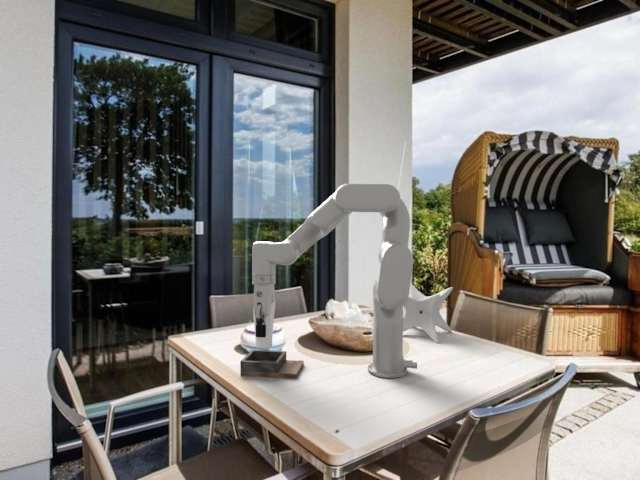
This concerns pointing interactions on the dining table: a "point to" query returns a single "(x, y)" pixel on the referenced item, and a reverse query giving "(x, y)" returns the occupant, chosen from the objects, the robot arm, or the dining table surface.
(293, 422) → the dining table surface
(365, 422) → the dining table surface
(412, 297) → the grey spiky star shape
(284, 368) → the open box
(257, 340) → the white cup
